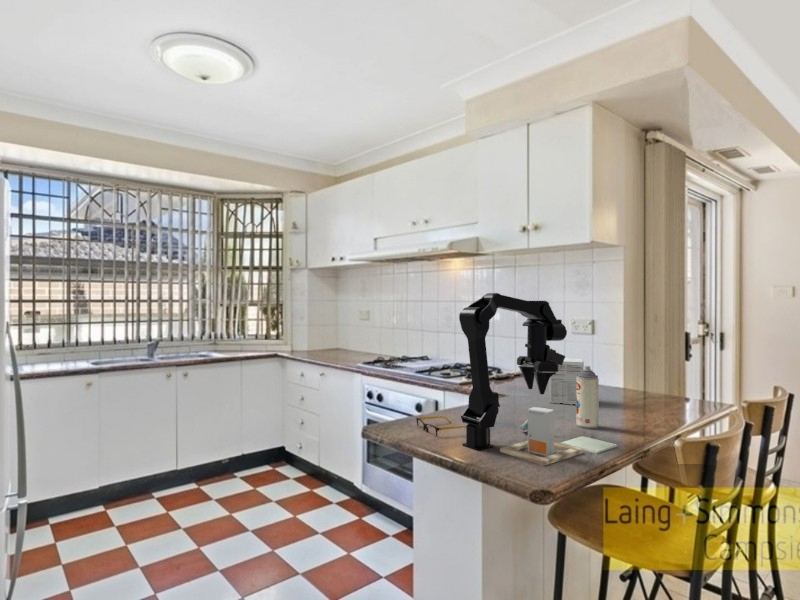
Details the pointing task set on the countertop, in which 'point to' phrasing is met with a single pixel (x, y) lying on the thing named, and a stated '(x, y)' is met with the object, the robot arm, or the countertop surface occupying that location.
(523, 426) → the pacifier
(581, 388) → the aerosol can
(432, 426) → the eyeglasses
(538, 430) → the skincare box
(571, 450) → the wooden frame
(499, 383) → the countertop surface
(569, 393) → the supplement box
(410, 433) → the countertop surface
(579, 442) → the sage mat
